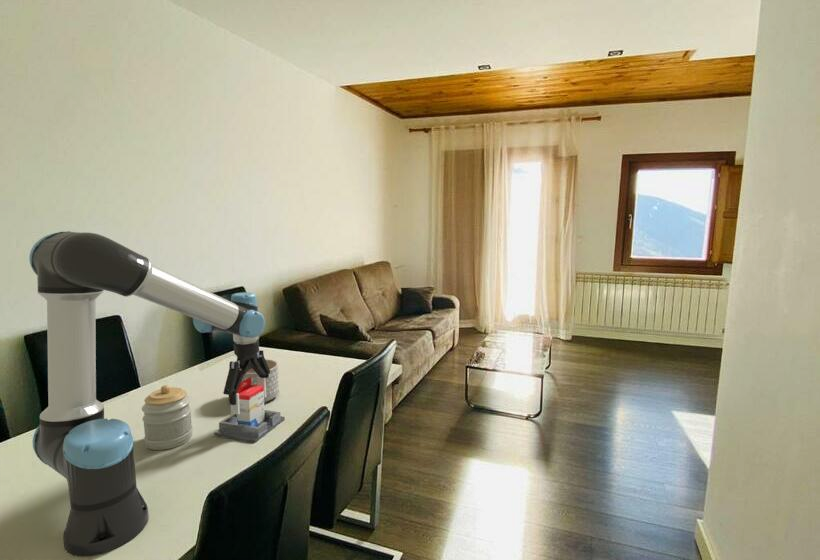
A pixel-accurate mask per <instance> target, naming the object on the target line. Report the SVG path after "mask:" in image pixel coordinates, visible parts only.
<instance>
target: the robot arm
mask: <svg viewBox="0 0 820 560" xmlns="http://www.w3.org/2000/svg"><path fill="white" fill-rule="evenodd" d="M28 257H29V264H30V267H31V268H32V270H33V272H34V274H35V275H36V276H37V278H36V279H37V294H38V295H39V296H41V297H42V298H44V299H45V301H46V308H47V309H46V325H47V328H46V329H47V334H46V335H47V392H48V393H47V394H48V395H47V396H48V406H47V407H46V408H45V409H44V410H43V411H41V413H40V414H39V425H38V426H37V427H36V429H35V430H34V434H33V436H32V448H33V452H34V454H35V456H36V457H37V458H38V459H39V461H41V462H42V463H43V464H44V465H47V466H48V467H50V468H51V469H53V470H54V471H55V472H57V473H58V474H59V475H61V476H62V477H63V478H64V479H66V481H67V487H68V495H69V496H68V497H69V504H70V510H69V514H68V517H67V521H66V526H65V528H64V532H63V535H62V540H63V541H62V542H63V547H64V550H65V552H66V551H67V552H66V553H68V554H69V553H70V554H69V555H71V554H72V555H73V556H75V555H77V556H76V557H88V556H89V557H90V556H96V555H100V554H103V553H107V552H109V551H112V550H115V549H117V548H119V547H121V546H123V545H125V544H126V543H128V542H130V541H131V540H132V539H134V538H135V537H136V536H138V535H139V534H140V533H141V532H142V531H143V530H144V529H145V527H146V526H147V524H148V521H149V517H150V516H149V507H148V505H147V502H146V501H145V499H144V497H143V496H142V494H141V492H140V491H139V489H138V488H137V479H136V478H137V477H136V476H137V475H136V468H135V467H136V465H135V455H134V454H135V453H134V437H133V434H132V430H131V427H130V425H128V423H127V422H126V421H123V420H121V419H117V418H110V419H108V418H105V405H104V403H102V402H101V401H99V400H98V399H97V369H96V367H97V366H96V365H97V364H96V363H97V362H96V360H97V356H96V353H97V352H96V350H97V347H96V346H97V345H96V344H97V341H96V340H97V339H96V337H97V336H96V334H97V332H96V330H97V329H96V327H97V326H96V319H97V318H96V299H97V298H98V297H99V296H101V295H102V294H103V293H104V291H106V292H111V293H113V294H117V295H119V296H123V297H124V298H125V297H131V296H135V297H139V298H140V299H143V300H146V301H149V302H151V303H154V304H156V305H159V306H161V307H164V308H166V309H170V310H172V311H175V312H178V313H180V314H183V315H185V316H188V317H190V318H192V323H193V326H194V328H195V329H196V331H198V332H199V333H201V334H204V333H205V334H206V333H211V332H214V331H215V332H221V333H226V334H231V335H232V339H233V340H232V341H233V342H234V343H233V353H234V355H235V356H236V361H232V360H231V361H229V365H228V366H229V367H228V368H229V370H228V372H227V377H226V381H225V383H224V384H225V386H224V388H223V389H224V390H223V392H222V393H223V395H227V396H229V397H228V399H229V402H228V403H229V405H230V414H231V415H232V414H240V406H239V393H237V391H238V389H239V386H240V384H241V381H242V379H243V376H244V374H246V373H247V371H248V370H250V369H253V370H254V371H255V372H256V373H257V374H258V376H259V377H258V378H257V382H258V385H259V386H264V397H266V378H268V377H269V373H270V370H269V367H268V365H267V363H266V360H265V359H266V358H265V355H264V350H262V349H260V341H259V336H260V335H261V334H262V333H263V331H264V330H265V327H266V326H265V325H266V319H265V317H264V315H263V314H262V312H259V311H258V307H259V305H258V300H257V299H258V298H257V295H256V293H254V292H246V291H245V292H236V293H233V294H232V295H231V298H230V300H228V299H225V298H224V297H222V296H219V295H217V294H215V293H213V292H211V291H209V290H206V289H204V288H202V287H200V286H198V285H195V284H194V283H191V282H190V281H187V280H185V279H182V278H180V277H178V276H176V275H174V274H172V273H170V272H168V271H165V270H163V269H161V268H159V267H157V266H154V265H153V264H151V261H150V259H149V258H148V257H146V256H144V255H142V254H141V253H138V252H136V251H134V250H132V249H130V248H128V247H126V246H125V245H123V244H120V242H119V243H118V242H116V241H115V240H113V239H111V238H109V237H107V236H104V235H102V234H97V233H95V232H94V233H93V232H77V231H76V232H75V231H70V230H67V231H58V232H54V233H50V234H47V235H45V236H42V237H41V238H40V239H39V240H37V241H36V242H35V243H34V245H33V246H32V247H31V249H30V253H29V256H28ZM240 369H241V370H240ZM233 390H234V391H233ZM72 555H71V556H72Z"/></svg>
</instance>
